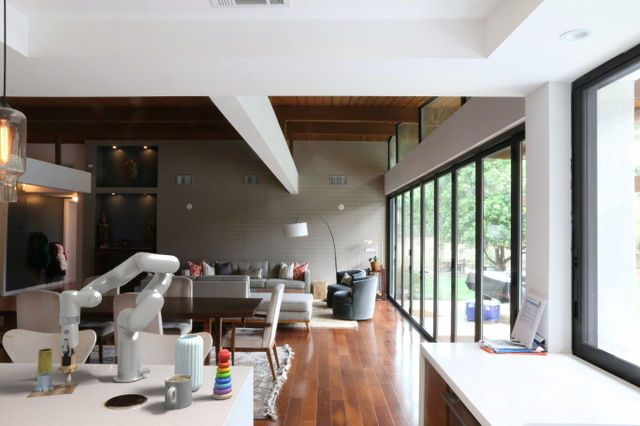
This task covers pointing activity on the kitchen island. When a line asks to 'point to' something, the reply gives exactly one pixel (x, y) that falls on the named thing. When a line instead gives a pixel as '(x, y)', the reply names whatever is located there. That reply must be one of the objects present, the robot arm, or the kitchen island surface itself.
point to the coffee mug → (178, 391)
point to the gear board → (57, 388)
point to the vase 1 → (44, 361)
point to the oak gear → (68, 368)
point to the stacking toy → (223, 377)
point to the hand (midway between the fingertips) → (68, 363)
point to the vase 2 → (190, 358)
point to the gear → (44, 383)
